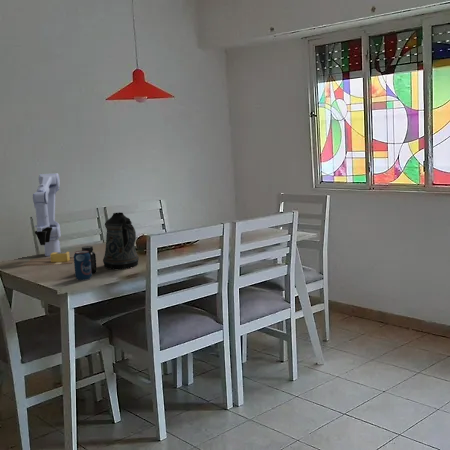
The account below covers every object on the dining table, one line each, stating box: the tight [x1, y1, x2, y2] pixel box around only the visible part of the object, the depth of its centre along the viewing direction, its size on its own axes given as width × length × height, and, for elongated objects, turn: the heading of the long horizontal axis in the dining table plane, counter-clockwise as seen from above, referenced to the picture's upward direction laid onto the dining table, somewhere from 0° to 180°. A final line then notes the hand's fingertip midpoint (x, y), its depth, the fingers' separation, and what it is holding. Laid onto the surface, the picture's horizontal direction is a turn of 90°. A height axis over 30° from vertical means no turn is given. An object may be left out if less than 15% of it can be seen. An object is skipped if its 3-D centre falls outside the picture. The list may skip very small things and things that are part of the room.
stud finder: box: [49, 251, 71, 262], centre depth 298 cm, size 4×8×4 cm, turn 90°
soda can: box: [73, 249, 93, 281], centre depth 263 cm, size 7×7×12 cm
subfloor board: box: [21, 256, 74, 267], centre depth 299 cm, size 16×24×1 cm, turn 90°
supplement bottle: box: [81, 245, 98, 275], centre depth 274 cm, size 7×7×12 cm
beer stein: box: [102, 212, 140, 271], centre depth 283 cm, size 16×19×25 cm
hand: (45, 243), depth 301 cm, fingers open, 7 cm apart
